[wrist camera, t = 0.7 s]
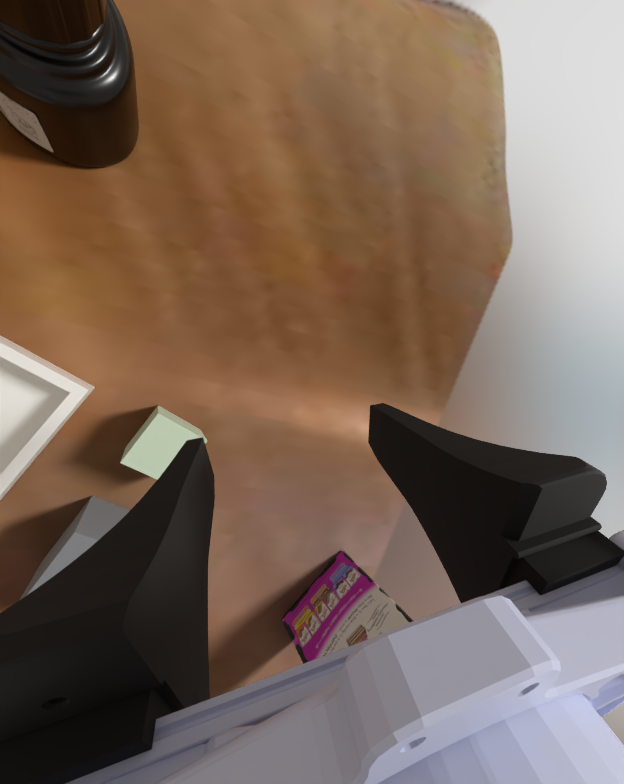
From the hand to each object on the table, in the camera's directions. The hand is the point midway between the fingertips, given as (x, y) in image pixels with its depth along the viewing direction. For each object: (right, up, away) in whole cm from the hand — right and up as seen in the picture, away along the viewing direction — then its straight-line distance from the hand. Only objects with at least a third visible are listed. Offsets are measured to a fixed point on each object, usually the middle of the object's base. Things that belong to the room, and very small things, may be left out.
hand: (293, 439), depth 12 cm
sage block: (-13, -2, +15) cm, 20 cm away
